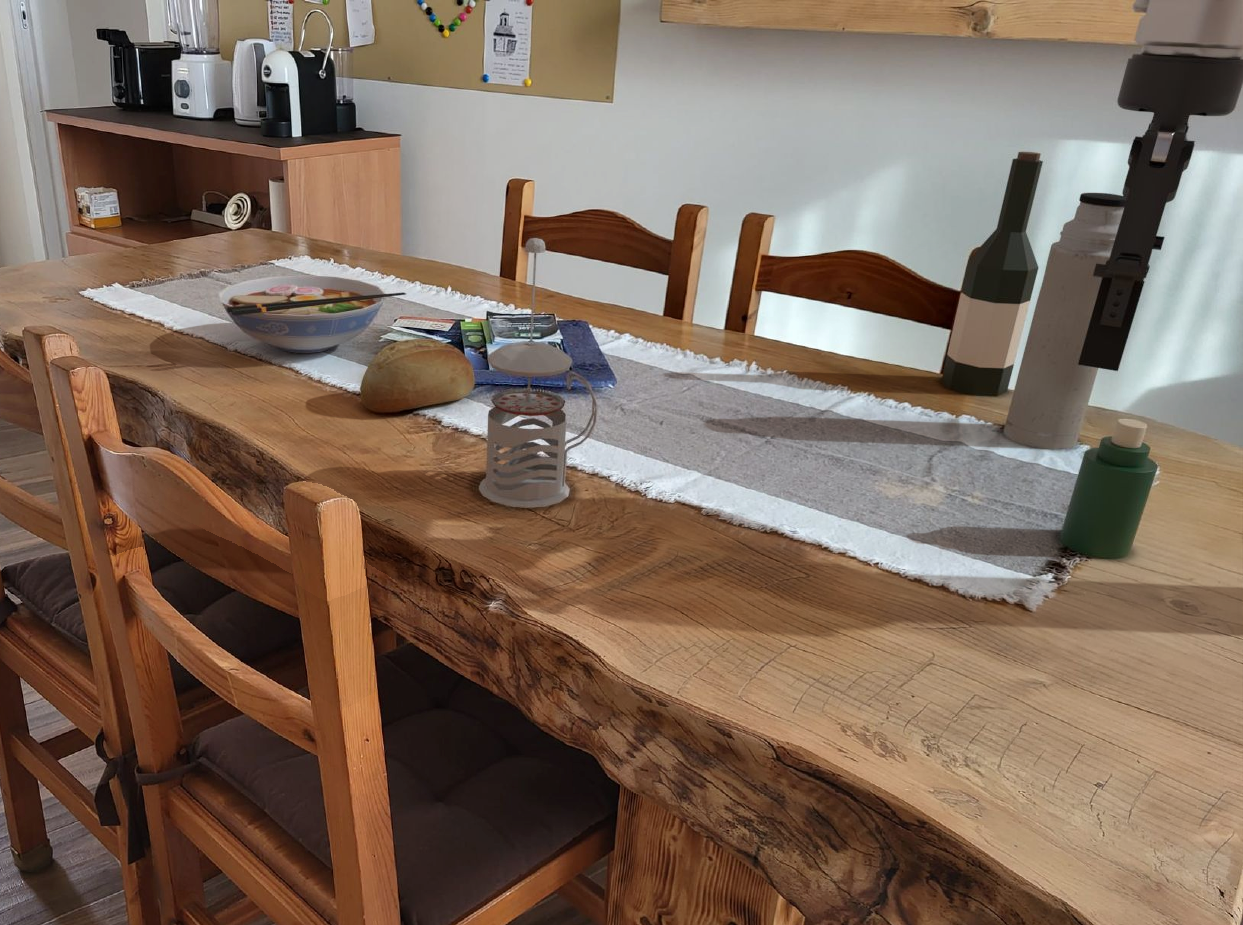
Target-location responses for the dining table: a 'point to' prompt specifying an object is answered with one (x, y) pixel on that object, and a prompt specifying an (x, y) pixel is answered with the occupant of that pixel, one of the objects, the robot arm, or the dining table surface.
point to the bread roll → (416, 376)
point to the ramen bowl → (303, 310)
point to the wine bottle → (996, 293)
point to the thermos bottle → (1063, 330)
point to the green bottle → (1110, 494)
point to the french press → (529, 423)
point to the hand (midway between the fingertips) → (1104, 346)
